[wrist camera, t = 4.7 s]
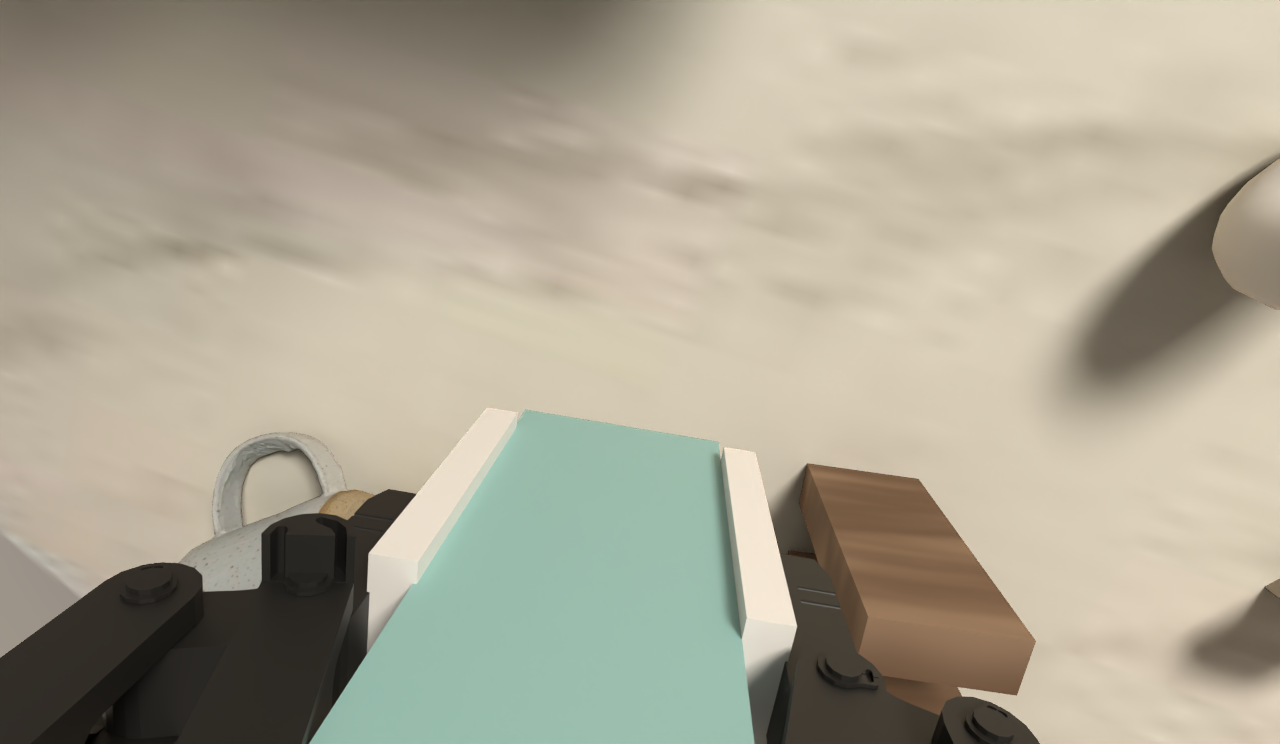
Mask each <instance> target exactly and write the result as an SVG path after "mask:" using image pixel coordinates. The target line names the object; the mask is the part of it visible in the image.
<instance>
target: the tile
mask: <svg viewBox="0 0 1280 744" xmlns="http://www.w3.org/2000/svg"><path fill="white" fill-rule="evenodd" d="M309 744H754V735H753V727H752V718H751V710H750V702H749V693H748V685H747V677H746V668H745V660H744V652H743V643H742V638H741V629H740V621H739V612H738V604H737V595H736V587H735V578H734V570H733V561H732V553H731V544H730V535H729V527H728V518H727V510H726V501H725V493H724V485H723V476H722V468H721V459H720V451H719V443H718V442H716V441H710V440H704V439H698V438H692V437H686V436H680V435H674V434H668V433H662V432H656V431H650V430H644V429H638V428H632V427H626V426H620V425H614V424H608V423H602V422H596V421H590V420H584V419H578V418H572V417H566V416H561V415H555V414H549V413H543V412H537V411H531V410H525V411H524V413H523V414H522V416H521V417H520V419H519V421H518V422H517V428H516V429H515V431H514V432H513V434H512V435H511V437H510V439H509V440H508V442H507V443H506V445H505V446H504V448H503V449H502V451H501V453H500V454H499V456H498V457H497V459H496V460H495V462H494V464H493V465H492V467H491V468H490V470H489V471H488V473H487V475H486V476H485V478H484V479H483V481H482V482H481V484H480V486H479V487H478V489H477V490H476V492H475V493H474V495H473V496H472V498H471V500H470V501H469V503H468V504H467V506H466V507H465V509H464V511H463V512H462V514H461V515H460V517H459V518H458V520H457V522H456V523H455V525H454V526H453V528H452V529H451V531H450V533H449V534H448V536H447V537H446V539H445V540H444V542H443V543H442V545H441V547H440V548H439V550H438V551H437V553H436V554H435V556H434V558H433V559H432V561H431V562H430V564H429V565H428V567H427V569H426V570H425V572H424V573H423V575H422V576H421V578H420V580H419V581H418V583H417V584H412V586H411V587H410V589H409V590H408V592H407V593H406V595H405V596H404V598H403V600H402V601H401V603H400V604H399V606H398V607H397V609H396V610H395V612H394V613H393V615H392V617H391V618H390V620H389V621H388V623H387V624H386V626H385V627H384V629H383V630H382V632H381V633H380V635H379V637H378V638H377V640H376V641H375V643H374V644H373V646H372V647H371V649H370V650H369V652H368V654H367V655H366V657H365V658H364V660H363V661H362V663H361V664H360V666H359V667H358V669H357V671H356V672H355V674H354V675H353V677H352V678H351V680H350V681H349V683H348V684H347V686H346V688H345V689H344V691H343V692H342V694H341V695H340V697H339V698H338V700H337V701H336V703H335V704H334V706H333V708H332V709H331V711H330V712H329V714H328V715H327V717H326V718H325V720H324V721H323V723H322V725H321V726H320V728H319V729H318V731H317V732H316V734H315V735H314V737H313V738H312V740H311V742H310V743H309Z"/></svg>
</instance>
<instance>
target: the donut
mask: <svg viewBox="0 0 1280 744" xmlns="http://www.w3.org/2000/svg"><path fill="white" fill-rule="evenodd" d="M1212 251H1213V255H1214V258H1215V261H1216V263H1217V265H1218V267H1219V269H1220V271H1221V273H1222V275H1223V277H1224V279H1225V280H1226V281H1227V282H1228V283H1229V285H1230V286H1231V287H1232V288H1233V289H1234V290H1236V291H1238V292H1240V293H1242V294H1244V295H1246V296H1248V297H1250V298H1252V299H1255V300H1257V301H1259V302H1261V303H1263V304H1265V305H1267V306H1269V307H1271V308H1273V309H1279V310H1280V158H1279V159H1278V160H1276V161H1275V162H1274V163H1272V164H1271V165H1270V166H1268V167H1267V168H1266V169H1264V170H1263V171H1262V172H1260V173H1259V174H1258V175H1256V176H1255V177H1254V178H1252V179H1251V180H1250V181H1248V182H1247V183H1246V184H1245V185H1244V186H1243V188H1242V189H1241V190H1240V191H1239V192H1238V193H1237V194H1236V195H1235V197H1234V198H1233V199H1232V200H1231V201H1230V202H1229V203H1228V205H1227V206H1226V208H1225V209H1224V211H1223V212H1222V214H1221V215H1220V218H1219V221H1218V224H1217V227H1216V231H1215V234H1214V238H1213V243H1212Z"/></svg>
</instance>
